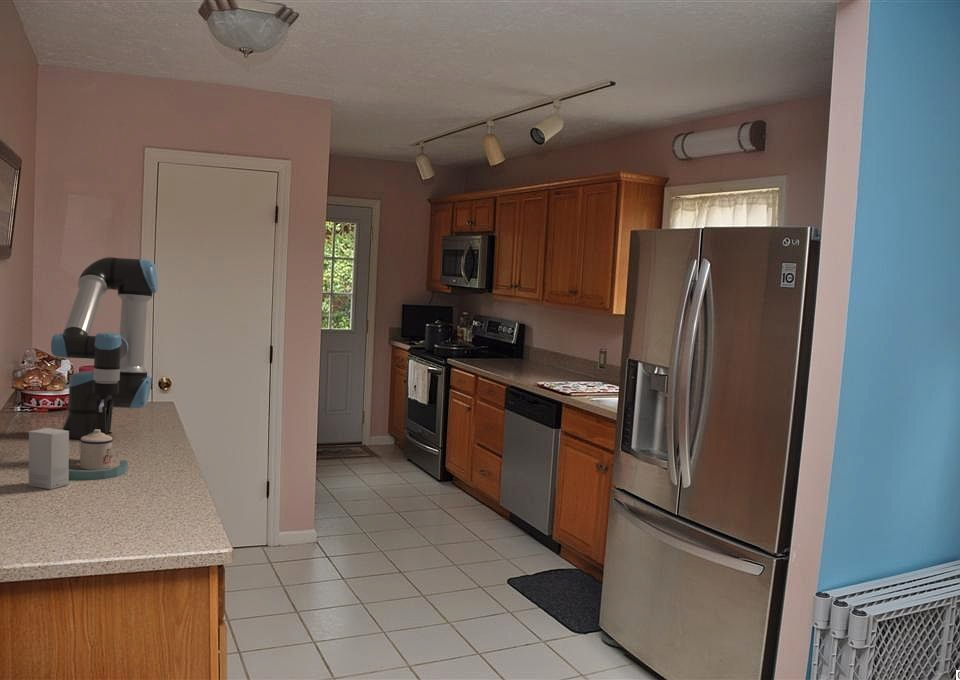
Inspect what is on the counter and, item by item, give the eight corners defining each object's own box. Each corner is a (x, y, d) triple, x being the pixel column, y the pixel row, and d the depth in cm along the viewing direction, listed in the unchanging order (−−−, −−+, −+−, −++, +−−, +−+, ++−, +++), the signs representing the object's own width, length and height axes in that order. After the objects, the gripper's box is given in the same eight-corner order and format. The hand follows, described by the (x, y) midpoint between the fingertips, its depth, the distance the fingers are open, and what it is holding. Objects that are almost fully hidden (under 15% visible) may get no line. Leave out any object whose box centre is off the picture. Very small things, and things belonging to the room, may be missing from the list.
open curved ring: (59, 465, 241) (60, 458, 241) (130, 467, 246) (130, 459, 246) (43, 479, 226) (44, 470, 226) (119, 480, 230) (119, 472, 230)
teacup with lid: (109, 470, 240) (111, 432, 239) (76, 470, 237) (78, 432, 236) (114, 461, 251) (116, 425, 251) (83, 461, 249) (84, 424, 248)
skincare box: (69, 485, 222) (71, 430, 221) (49, 490, 215) (51, 434, 214) (46, 481, 224) (48, 426, 223) (25, 485, 218) (28, 430, 217)
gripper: (98, 378, 256) (95, 450, 258) (88, 383, 243) (84, 459, 245) (123, 379, 258) (119, 450, 259) (114, 385, 245) (110, 459, 247)
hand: (102, 454), depth 252 cm, fingers closed
